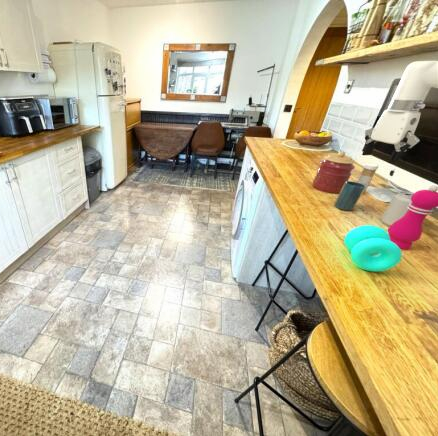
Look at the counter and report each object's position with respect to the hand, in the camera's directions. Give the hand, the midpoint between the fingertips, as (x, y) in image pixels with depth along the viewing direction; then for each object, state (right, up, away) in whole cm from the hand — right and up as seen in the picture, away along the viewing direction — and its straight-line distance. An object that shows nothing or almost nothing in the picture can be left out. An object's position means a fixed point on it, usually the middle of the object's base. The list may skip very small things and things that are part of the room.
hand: (378, 158), depth 86 cm
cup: (-3, -17, +12) cm, 21 cm away
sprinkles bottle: (+15, -10, +26) cm, 31 cm away
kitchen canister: (+4, -7, +29) cm, 30 cm away
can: (+6, -24, +1) cm, 25 cm away
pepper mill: (-4, -30, -10) cm, 32 cm away
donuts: (-22, -34, -17) cm, 44 cm away
